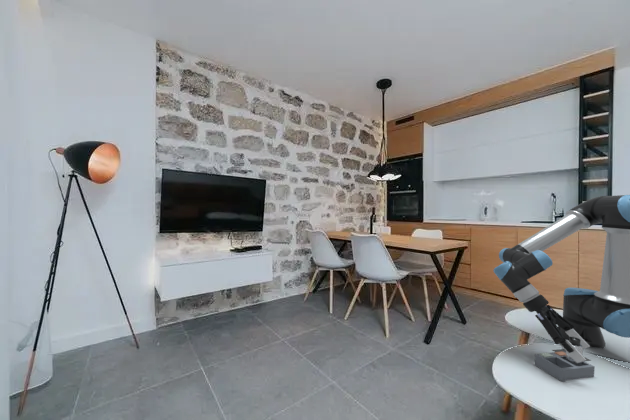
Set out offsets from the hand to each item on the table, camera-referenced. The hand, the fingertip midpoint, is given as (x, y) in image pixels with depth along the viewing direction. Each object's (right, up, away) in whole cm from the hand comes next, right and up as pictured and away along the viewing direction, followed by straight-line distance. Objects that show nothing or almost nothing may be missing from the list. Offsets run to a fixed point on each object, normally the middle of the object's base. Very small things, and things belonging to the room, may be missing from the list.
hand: (583, 354), depth 89 cm
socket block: (-5, -7, +2) cm, 9 cm away
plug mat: (+7, -7, +12) cm, 16 cm away
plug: (-2, -7, +2) cm, 8 cm away
